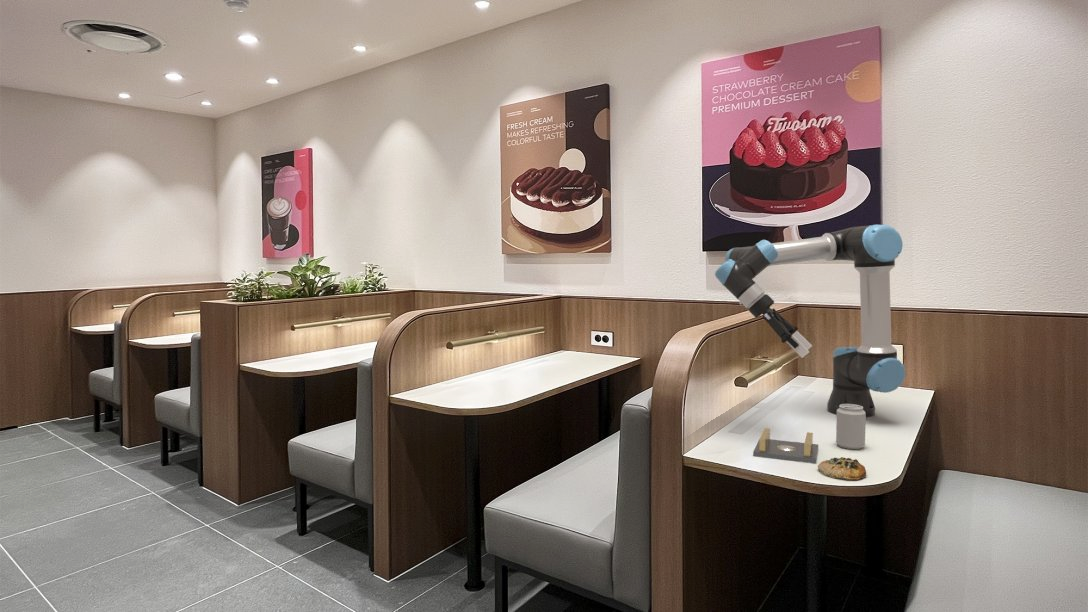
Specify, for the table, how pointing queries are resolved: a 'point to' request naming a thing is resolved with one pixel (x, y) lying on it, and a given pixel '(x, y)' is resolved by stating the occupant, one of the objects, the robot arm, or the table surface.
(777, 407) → the table surface
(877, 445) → the table surface
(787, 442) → the holder plate
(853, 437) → the can
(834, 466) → the bread roll
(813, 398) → the table surface
